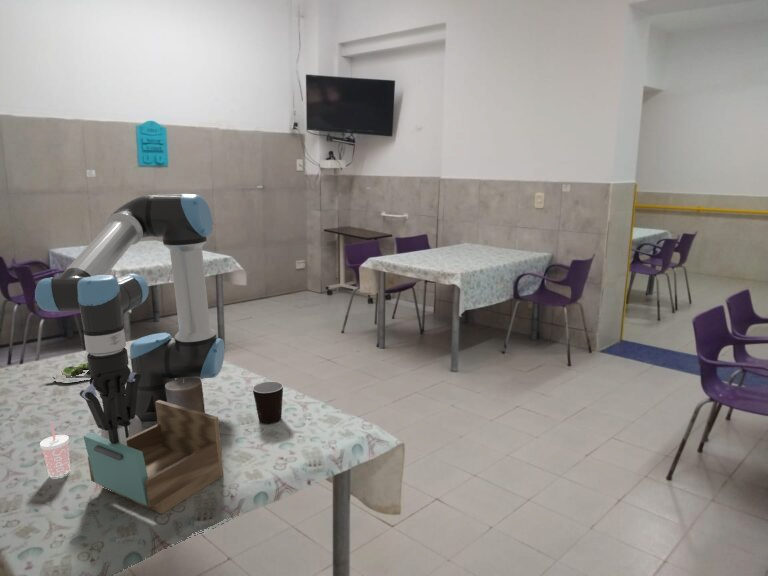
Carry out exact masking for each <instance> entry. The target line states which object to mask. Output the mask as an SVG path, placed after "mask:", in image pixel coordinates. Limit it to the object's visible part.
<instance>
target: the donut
mask: <svg viewBox="0 0 768 576" xmlns="http://www.w3.org/2000/svg"><path fill="white" fill-rule="evenodd" d="M129 422H131V423H130V425H129V426H128V433H129V436H128V438H129V437H131V436H133V435H135V434H137V433H139V432H142V431H143V425H142V421H141V420H140V419H139V418H138V417H137V416H136V415H135V418H134V419H131V420H130V421H129ZM100 432H101V433H100V436H101V437H104V438H107V439H109V434H108V431H106V430H103V429H101V431H100ZM126 439H127V438H126Z"/></svg>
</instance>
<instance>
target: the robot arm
mask: <svg viewBox="0 0 768 576" xmlns="http://www.w3.org/2000/svg"><path fill="white" fill-rule="evenodd" d="M209 206H210V205H209V204H208V202H207V201H206V200H205V198H204V197H203V196H201V195H200V194H192V193H175V194H145V195H141V196H139V197H135V198H134V199H132V200H130V201H127V202H126V203H125V204H122V205H121V206H120V207H118V208H117V209H116V210H115V211H113V213H112V214H110V215H109V217H107V220H106V222H105V227H103V229H102V230H101V231H100V233H98V235H97V236H96V237H95V238H94V239H93V240H92V241H91V242H90V243H89V244H88V245H87V246H86V247H85V248H84V250H83V251H81V253H79V255H78V256H76V258H75V259H74V260H73V261H72V262H71V263H70V264H69V266H68V267H67V268H66V269H65V270H64V271H63V272H62V273H61V274H60V275H59V276H58V277H55V276H51V277H47V278H46V277H45V278H42V279H40V280H39V281H38V282H37V284H36V287H35V289H34V297H35V301H36V303H37V306H38V307H39V308H40V310H42V311H45V312H58V313H71V312H75V313H76V312H80V316H81V317H80V319H81V322H82V328H83V329H82V330H83V337H84V346H85V351H86V353H88V354H86V355H87V356H86V358H87V359H86V360H87V363H88V366H89V371H90V373H91V379H90V380H89V386H88V387H87V388H86V389H85V390H81V391H80V392H79V396H80V397H81V398H83V399H84V400H85V401H86V404H87V406H88V409H89V411H90V413H91V415H92V417H93V420H94V422H95V424H96V426H97V428H98V429H101V430H102V429H103V430H106V431H108V434H109V440H110V442H111V443H114V444H116V443H120V444H123V445H126V446H127V442H126V438H128V436H129V433H128V426H129V425H130V423H131V422H129V421H130V420H131V419H134V418H135V415H136V416H137V417H138V418H139V419H140V421H141V422H142V421H143V422H148V421H149V422H150V421H157V413H156V404H155V402H156V401H158V400H161V401H165V402H167V396H166V388H165V385H166V384H167V383H168V382H170V381H172V380H175V379H178V378H184V377H197V378H199V379H201V380H204V379H213V378H216V377H217V376H218V375H219V374H220V372H221V370H222V367H223V364H224V360H225V355H226V354H225V349H226V348H225V347H226V346H225V342H224V340H223V339H222V338H220V337H218V338H217V331H216V330H215V329H214V328H212V327H211V324H210V313H209V312H210V311H209V305H208V304H209V303H208V293H207V285H206V275H205V266H204V265H205V264H204V255H203V246H205V244H206V243H207V240H208V239H207V237H209V236H210V235H211V234H212V231H213V223H214V222H213V216H212V212H211V209H210V207H209ZM152 237H153V238H159V237H160V238H162V243H163V246H164V247H166V248H167V249H168V250H169V253H170V263H171V270H172V271H171V272H172V279H173V287H174V294H175V295H174V298H175V305H176V312H177V322H178V332H177V333H176V334H175V335H174V338H173V337H172V335H171V334H170V333H168V332H160V333H153V334H149V335H146V336H142V337H140V338H137V339H136V340H134V341H132V342H131V344H130V346H129V355H128V350H127V348H126V346H127V343H126V333H125V326H124V317H123V315H124V314H125V313H127V312H129V311H131V310H134V309H135V308H138V307H140V305H142V304H143V303H144V302H145V301H146V300H147V298H148V296H149V293H150V291H149V285H148V283H147V281H146V280H145V278H143V277H142V276H141V275H139V274H136V273H127V274H126V273H124V274H122V275H119V276H115V275H112V274H109V273H110V271H111V270H112V269H113V268H114V266H115V265H116V264H117V263H118V262H119V260H121V258H122V257H123V255H125V254H126V252H127V251H128V250H129V248H130V247H132V245H136V244H138V243H139V242H140V241H141V240H142V239H145V238H152ZM172 338H173V339H172ZM128 356H129V357H128ZM129 359H130V361H129ZM129 362H130V364H131V369H130V367H129V365H130V364H129ZM96 391H97V392H98V393H99V397H100V398H101V401H100V400H99V399H98V397H97V395H98V394H97V392H96ZM100 402H102V403H100ZM101 404H102V405H101Z"/></svg>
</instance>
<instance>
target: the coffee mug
mask: <svg viewBox="0 0 768 576" xmlns="http://www.w3.org/2000/svg"><path fill="white" fill-rule="evenodd" d="M252 393H253V398H254V402H255V408H256V413H257V417H258V422H259V423H260V424H261V425H274V424H276V423H278V422H281V420H282V413H283V393H284V384H283V383H282V382H280V381H275V380H274V381H273V380H271V381H270V380H269V381H263V382H260V383H257V384H255V385H254V386H252Z"/></svg>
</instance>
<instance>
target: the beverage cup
mask: <svg viewBox="0 0 768 576" xmlns="http://www.w3.org/2000/svg"><path fill="white" fill-rule="evenodd" d="M50 428H51V434H52V436H48V437H46V438H44V439H42V440H41V441H40V443H39V446H40V450H41V451H42V453H43V457H44V463H45V465H46V470H47V471H46V472H47V473H48V474H47V475H48V477H49V476H50V477H59V476H62V475H64V474H67V473H68V472H69V471H71V461H70V448H69V447H70V446H69V442H70V437H69V435H67V434H56V433H55V428H54V422H53V420H50Z"/></svg>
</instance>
